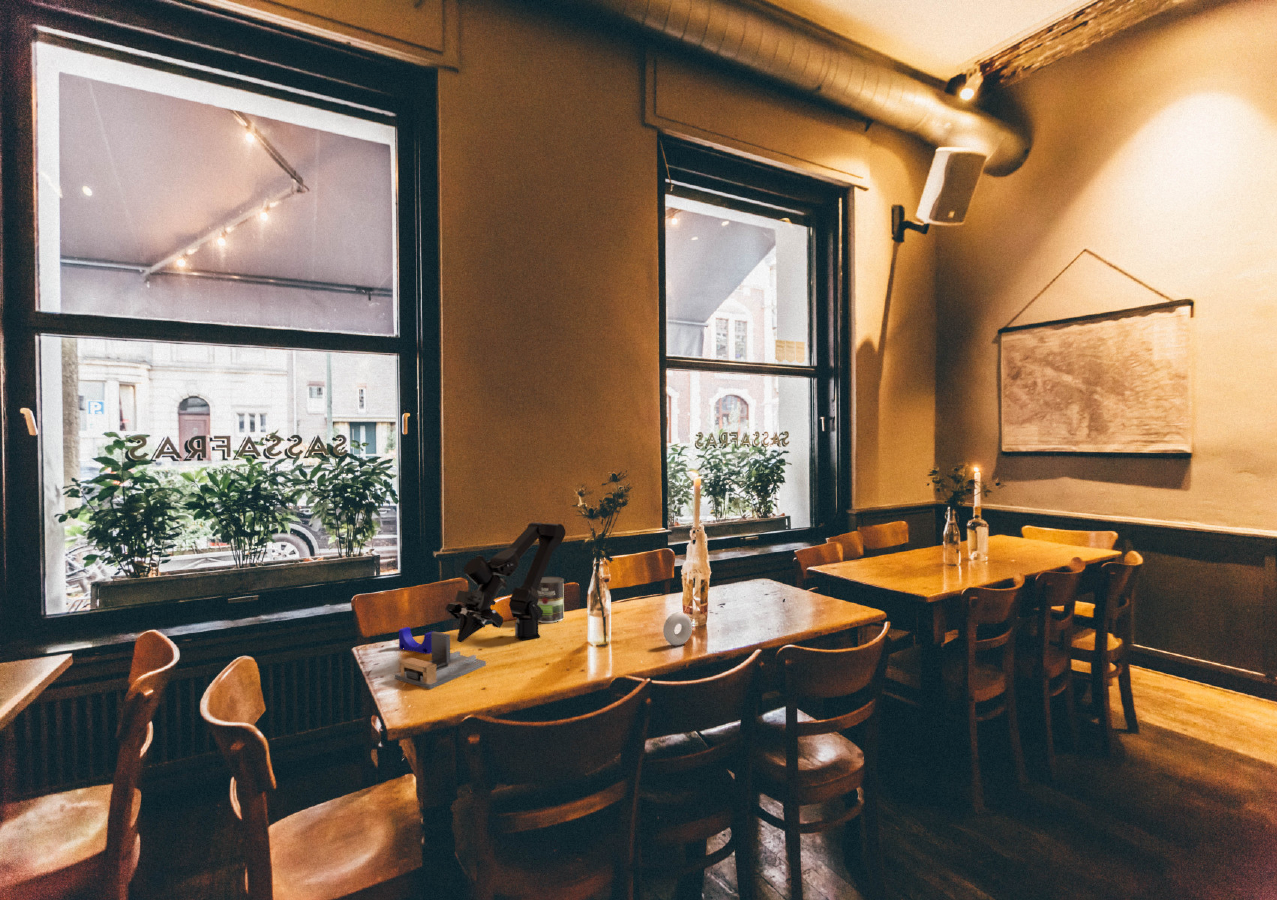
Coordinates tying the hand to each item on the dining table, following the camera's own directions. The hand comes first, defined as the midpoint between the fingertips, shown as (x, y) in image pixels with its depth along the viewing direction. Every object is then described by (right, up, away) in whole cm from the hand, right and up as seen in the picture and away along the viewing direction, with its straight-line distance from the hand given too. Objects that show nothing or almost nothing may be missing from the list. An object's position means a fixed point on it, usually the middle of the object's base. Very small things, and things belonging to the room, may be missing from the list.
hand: (458, 641), depth 168 cm
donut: (+63, -6, +14) cm, 64 cm away
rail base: (-3, -7, -5) cm, 9 cm away
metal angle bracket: (-6, -5, -9) cm, 12 cm away
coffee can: (+19, -6, +44) cm, 48 cm away
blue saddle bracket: (-16, -7, +14) cm, 23 cm away
